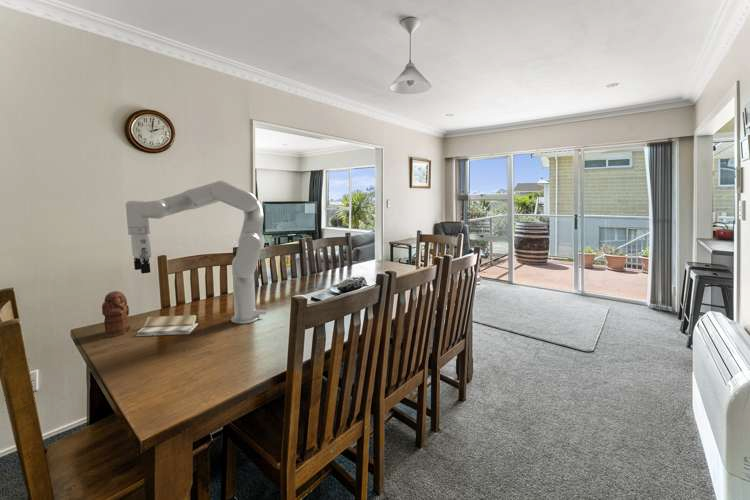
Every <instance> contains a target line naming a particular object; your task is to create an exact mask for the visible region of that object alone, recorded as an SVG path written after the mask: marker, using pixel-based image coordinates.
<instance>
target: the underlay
mask: <svg viewBox="0 0 750 500" xmlns="http://www.w3.org/2000/svg"><path fill="white" fill-rule="evenodd" d="M198 325H199V323H197V322H195V323H194V327H193V328H192V329H191V331H190V332H189V333H177V334H155V335H154V336H168V335H169V336H171V335H189V334H191V333H192V332H193V330H194V329H195V328H196V327H197V326H198ZM147 336H148V337H149V336H152V335H137V334H136V335H135V337H147Z"/></svg>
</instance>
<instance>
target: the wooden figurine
mask: <svg viewBox="0 0 750 500" xmlns="http://www.w3.org/2000/svg"><path fill="white" fill-rule="evenodd" d="M129 307H130V306H129V305H128V302H127V297H126V296H125V294H124V293H123V292H121V291H117V290H115V291H111V292H109V293H107V294H106V296H105V297H104V302H103V303H102V305H101V311H102V315H103V316H104V320H103V321H104V331H105V334H106V337H107V338H113V337H118V336H121V335H124V334H126V333H127V332H128V331H129V330H130V328H131V324H130V323H131V322H130V319H129V314H130V309H129Z"/></svg>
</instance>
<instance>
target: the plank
mask: <svg viewBox="0 0 750 500" xmlns="http://www.w3.org/2000/svg"><path fill="white" fill-rule="evenodd" d="M196 320H197V315H195V314H191V315H167V316H166V315H165V316H148V317H147V318H146V320H145V322H144V325H143V327H163V326H187V325H192V327H194V324H195V323H196Z"/></svg>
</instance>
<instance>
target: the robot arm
mask: <svg viewBox="0 0 750 500" xmlns="http://www.w3.org/2000/svg"><path fill="white" fill-rule="evenodd" d="M219 202H221V203H222V204H226V205H228V206H231V207H233V208H235V209H238V210H240V211H243V214H244V216H243V217H244V218H243V223H242V227H241V231H240V234H239V238H238V242H237V243H238V246H237V251H236V255H235V256H234V257H233V259H232V260H231V261H232V262H231V273H232V274H231V275H232V286H233V287H232V288H233V289H232V290H233V310H234V311H233V313H234V315H233V316H232V317H230V318H231V319H230V320H231V322H232V323H234V324H239V325H240V324H249V323H251V324H252V323H253V322H257V321H258V320H260V315H266V314H267V311H266V309H257V308H256V291H255V290H256V284H255V272H256V269H257V266H258V262H259V258H260V255H261V251H262V240H261V233H262V231H263V225H264V219H265V215H264V209H263V207H262V205H261V203H260V202H259V200H258V198H257V196H255V194H254V193H252V192H250V191H247V190H244V189H242V188H240V187H238V186H236V185H234V184H231V183H229V182H227V181H225V180H217V181H215V182H210V183H207V184H203V185H201V186H197V187H194V188H190V189H187V190H185V191H183V192H180V193H178V194H175V195H172V196H167V197H164V198H161V199H155V200H151V201H150V200H149V201H145V200H128V201H126V202H125V212H126V213H125V214H126V223H127V226H126V227H127V234H128V236H130V244H131V253H132V257H133V264H134V270H135V271H138V270H140V273H141V274H142V275H144V274H149V273H151V265H150V263H151V262H150V258H152V250H151V249H152V248H151V242H150V237H149V235H150V233H151V230H150V221H149V219H154V220H156V219H157V220H159V219H162V218H165V217H168V216H170V215H171V216H172V215H174V214H177V213H181V212H183V211H184V212H185V211H188V210H196V209H199V208H202V207H203V208H204V207H207V206H209V205H212V204H216V203H219Z"/></svg>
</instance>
